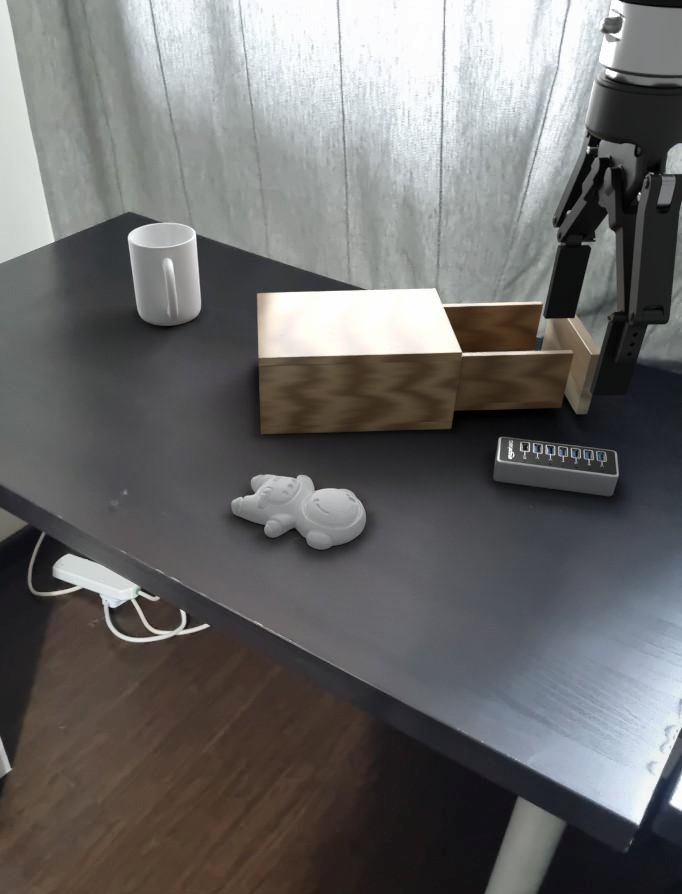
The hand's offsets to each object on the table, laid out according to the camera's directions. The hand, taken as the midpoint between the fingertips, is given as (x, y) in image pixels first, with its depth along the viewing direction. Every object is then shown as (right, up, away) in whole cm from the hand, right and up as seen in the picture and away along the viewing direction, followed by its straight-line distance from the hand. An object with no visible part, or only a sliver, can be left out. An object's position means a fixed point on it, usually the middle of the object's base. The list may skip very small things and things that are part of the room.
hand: (581, 352), depth 71 cm
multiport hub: (0, -10, +9) cm, 13 cm away
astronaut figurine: (-24, -14, +5) cm, 28 cm away
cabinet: (-18, 0, +20) cm, 27 cm away
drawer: (-3, +1, +20) cm, 20 cm away
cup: (-40, +12, +35) cm, 55 cm away
